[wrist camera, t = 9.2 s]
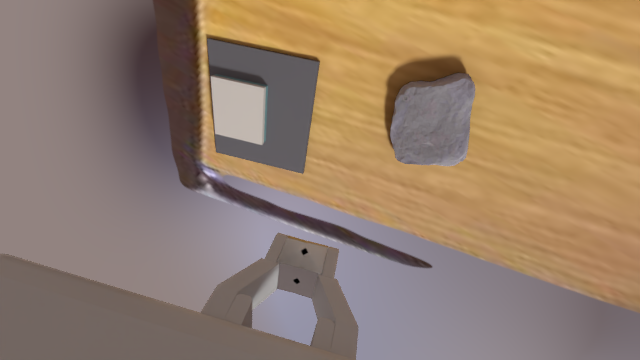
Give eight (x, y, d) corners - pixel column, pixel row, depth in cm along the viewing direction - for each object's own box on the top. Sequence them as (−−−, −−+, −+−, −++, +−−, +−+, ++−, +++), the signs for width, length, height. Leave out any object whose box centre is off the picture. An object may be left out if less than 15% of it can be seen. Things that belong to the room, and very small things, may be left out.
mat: (209, 38, 36) (207, 38, 36) (319, 61, 35) (318, 62, 35) (217, 150, 47) (216, 152, 46) (303, 171, 45) (302, 173, 45)
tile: (267, 85, 38) (216, 74, 38) (263, 88, 36) (210, 76, 37) (265, 141, 43) (220, 130, 43) (261, 145, 41) (215, 133, 42)
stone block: (395, 154, 42) (465, 156, 38) (389, 168, 38) (466, 171, 34) (393, 78, 37) (475, 69, 32) (386, 85, 33) (477, 76, 29)
